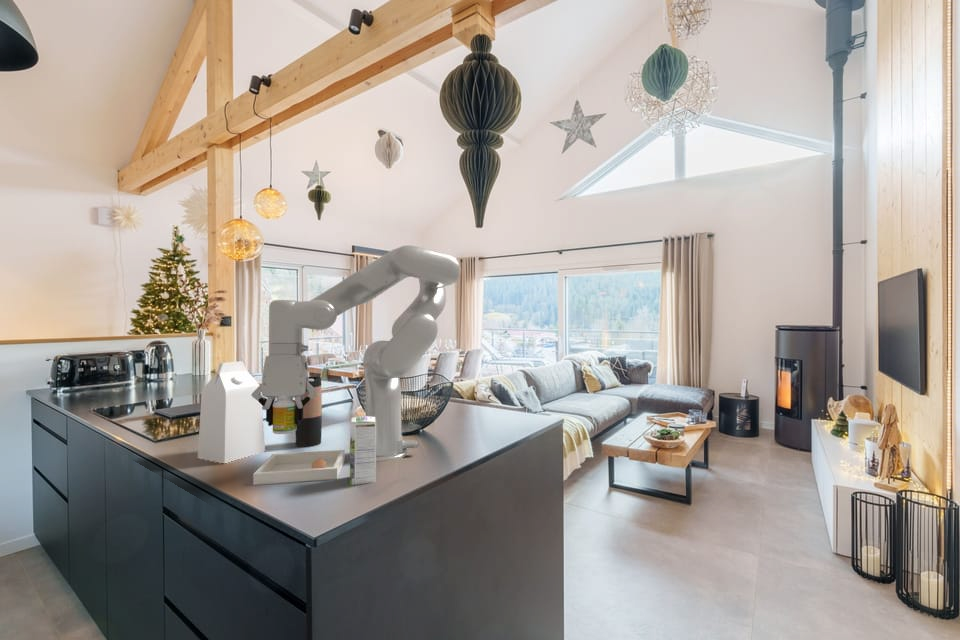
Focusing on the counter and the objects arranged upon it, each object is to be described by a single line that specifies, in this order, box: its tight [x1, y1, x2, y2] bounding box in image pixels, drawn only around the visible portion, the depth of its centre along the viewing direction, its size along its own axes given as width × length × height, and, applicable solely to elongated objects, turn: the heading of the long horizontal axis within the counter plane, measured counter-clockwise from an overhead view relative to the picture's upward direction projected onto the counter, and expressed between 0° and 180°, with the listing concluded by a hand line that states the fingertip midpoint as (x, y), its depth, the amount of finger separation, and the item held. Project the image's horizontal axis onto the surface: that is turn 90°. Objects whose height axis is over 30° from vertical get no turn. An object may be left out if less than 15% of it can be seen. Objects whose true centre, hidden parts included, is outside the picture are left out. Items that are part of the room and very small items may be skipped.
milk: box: [197, 360, 266, 464], centre depth 122 cm, size 12×12×26 cm
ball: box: [312, 459, 326, 469], centre depth 105 cm, size 3×3×3 cm
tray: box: [252, 449, 346, 486], centre depth 106 cm, size 18×15×3 cm
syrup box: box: [349, 415, 377, 486], centre depth 100 cm, size 6×6×14 cm
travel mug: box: [294, 376, 323, 448], centre depth 132 cm, size 8×8×20 cm
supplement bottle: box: [272, 396, 297, 435], centre depth 106 cm, size 5×5×10 cm
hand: (284, 423), depth 106 cm, fingers closed on supplement bottle, 5 cm apart
